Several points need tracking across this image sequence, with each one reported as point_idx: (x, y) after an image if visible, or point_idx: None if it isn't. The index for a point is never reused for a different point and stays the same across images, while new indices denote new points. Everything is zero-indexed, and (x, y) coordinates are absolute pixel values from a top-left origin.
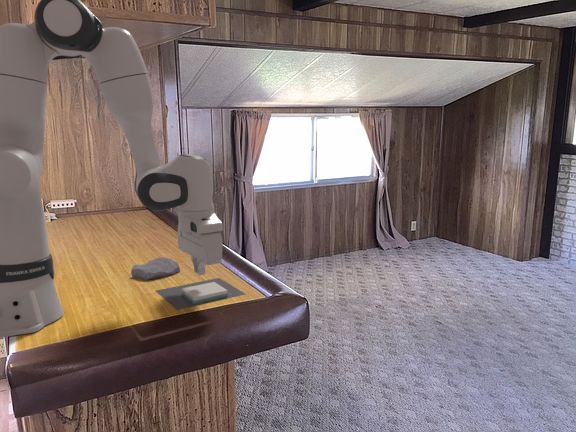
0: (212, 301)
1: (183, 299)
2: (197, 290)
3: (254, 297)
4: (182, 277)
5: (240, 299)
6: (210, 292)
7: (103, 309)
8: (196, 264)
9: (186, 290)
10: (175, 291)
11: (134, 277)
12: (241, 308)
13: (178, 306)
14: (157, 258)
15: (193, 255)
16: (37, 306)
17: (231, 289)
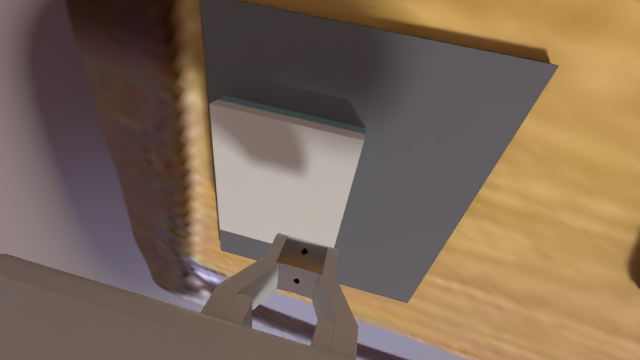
0: (213, 158)
1: (303, 97)
2: (284, 170)
3: (205, 249)
4: (578, 265)
5: (210, 223)
6: (230, 185)
7: None
8: (318, 292)
9: (320, 140)
10: (429, 134)
11: None
12: (144, 182)
13: (235, 25)
14: None
15: (231, 341)
16: None
17: None
